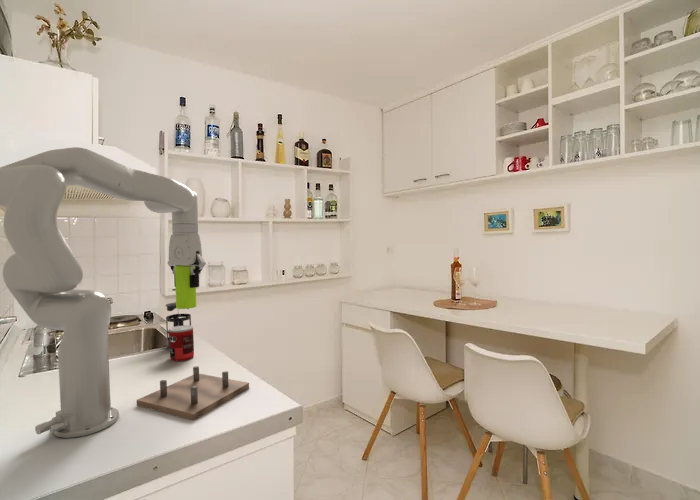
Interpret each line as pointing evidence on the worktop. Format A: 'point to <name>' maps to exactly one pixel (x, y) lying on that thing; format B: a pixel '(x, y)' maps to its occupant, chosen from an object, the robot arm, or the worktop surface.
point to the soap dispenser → (184, 288)
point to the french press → (175, 318)
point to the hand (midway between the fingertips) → (186, 286)
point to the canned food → (181, 343)
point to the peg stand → (193, 395)
